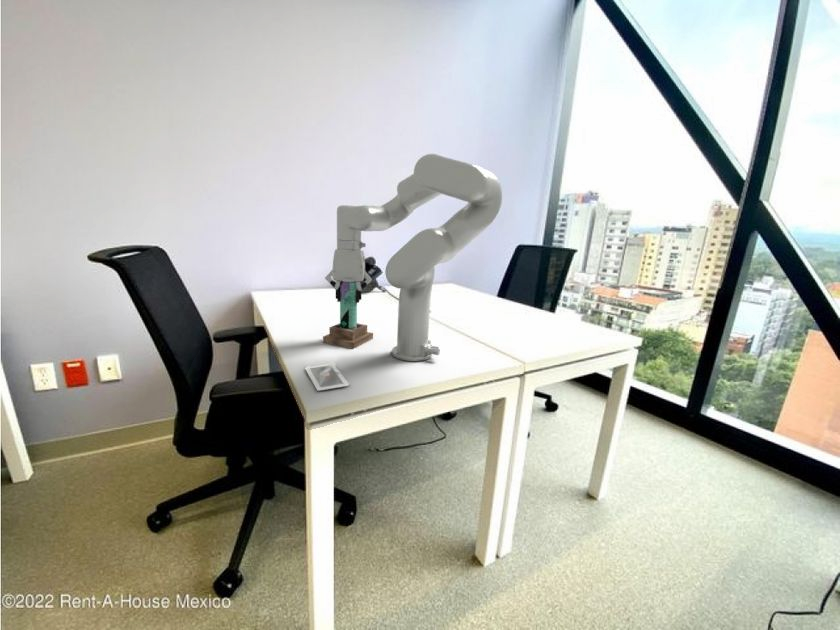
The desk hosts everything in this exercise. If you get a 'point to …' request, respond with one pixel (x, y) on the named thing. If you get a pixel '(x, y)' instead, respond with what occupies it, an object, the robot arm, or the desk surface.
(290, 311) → the desk surface
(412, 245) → the robot arm
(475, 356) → the desk surface
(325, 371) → the touchpad
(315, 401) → the desk surface
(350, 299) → the spray can
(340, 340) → the display stand
